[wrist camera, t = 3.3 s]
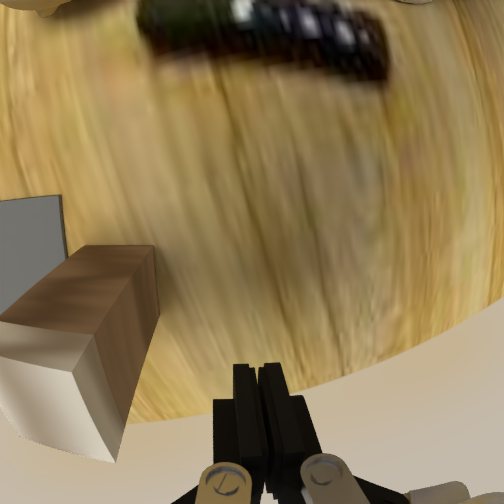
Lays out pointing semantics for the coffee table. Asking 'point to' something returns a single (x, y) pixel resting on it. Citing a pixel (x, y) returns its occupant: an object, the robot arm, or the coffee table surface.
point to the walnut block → (79, 349)
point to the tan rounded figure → (35, 5)
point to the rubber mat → (29, 244)
